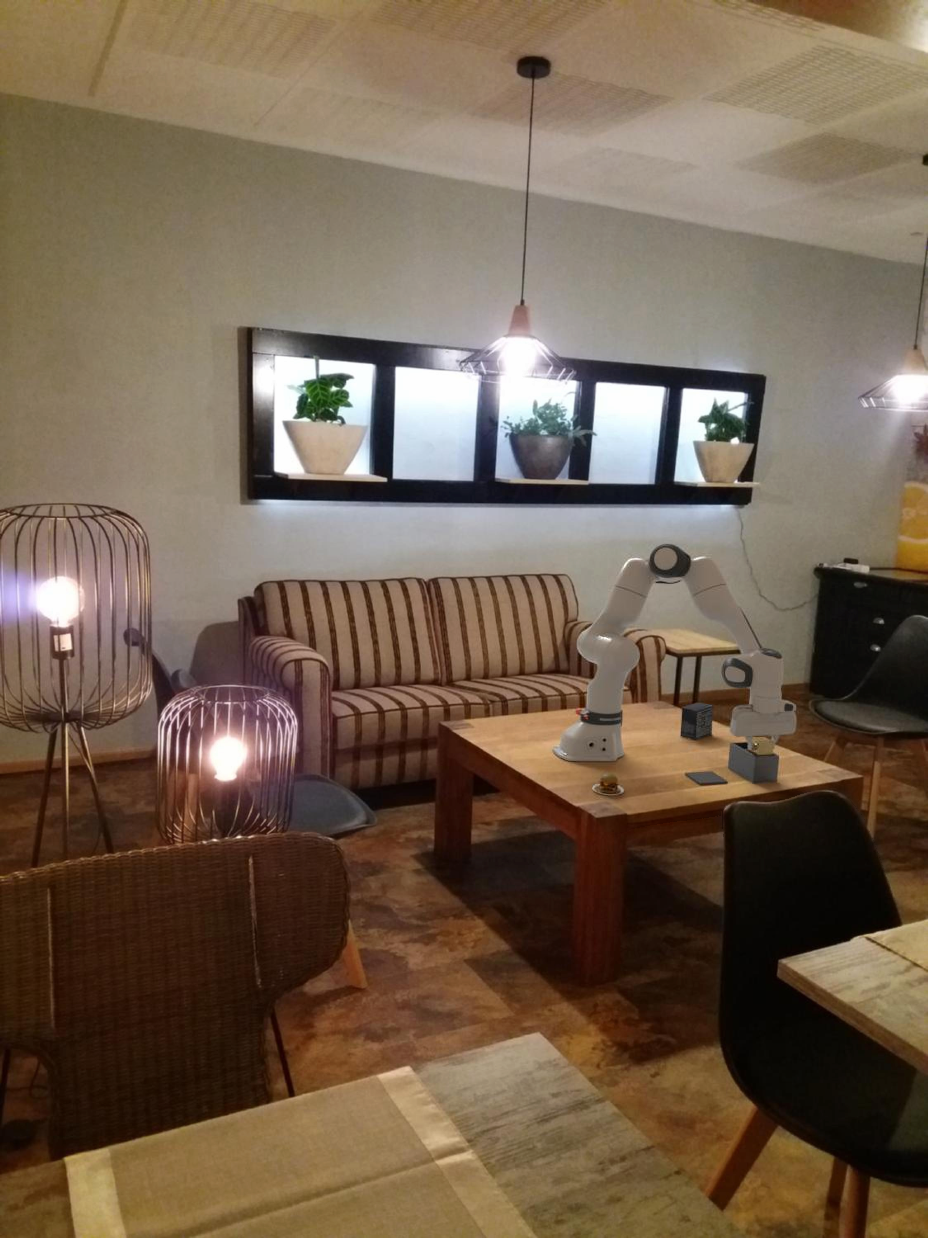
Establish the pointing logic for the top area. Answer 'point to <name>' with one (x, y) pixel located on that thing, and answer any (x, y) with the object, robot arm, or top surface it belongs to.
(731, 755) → the divided storage bin
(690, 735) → the small box
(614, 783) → the hamburger
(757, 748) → the cream tapered block
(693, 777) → the mat
